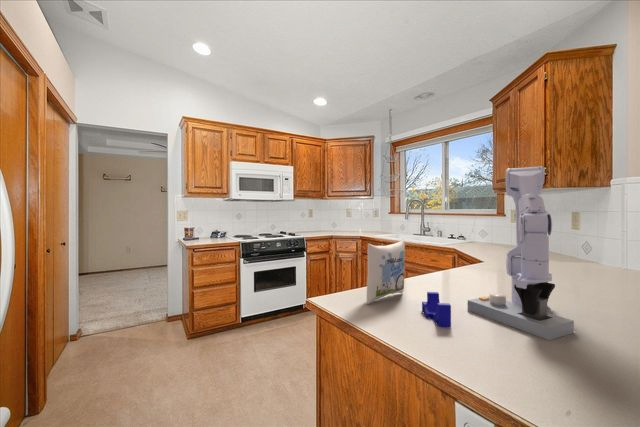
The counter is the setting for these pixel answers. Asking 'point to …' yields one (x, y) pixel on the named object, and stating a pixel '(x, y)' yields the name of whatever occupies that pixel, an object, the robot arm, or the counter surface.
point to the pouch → (385, 270)
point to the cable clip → (437, 310)
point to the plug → (539, 310)
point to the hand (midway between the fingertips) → (534, 311)
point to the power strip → (520, 317)
